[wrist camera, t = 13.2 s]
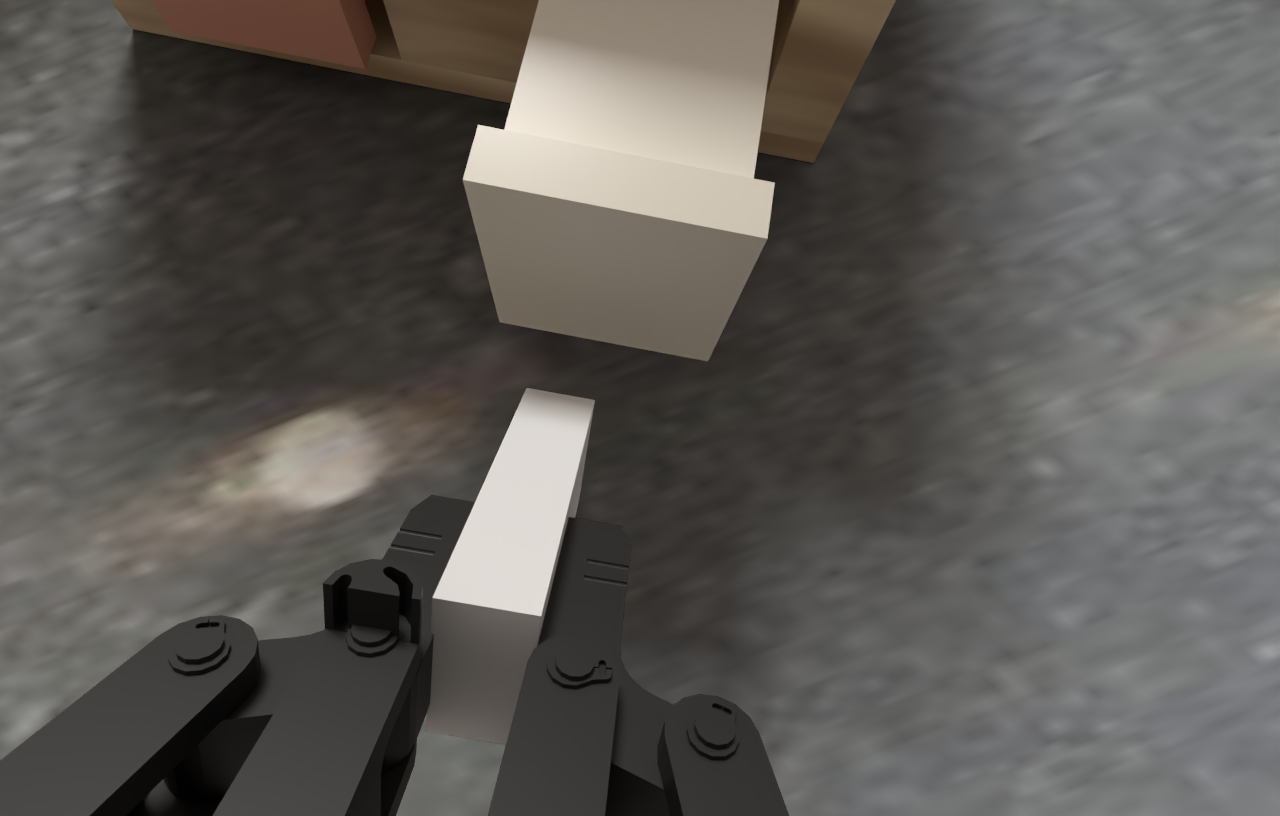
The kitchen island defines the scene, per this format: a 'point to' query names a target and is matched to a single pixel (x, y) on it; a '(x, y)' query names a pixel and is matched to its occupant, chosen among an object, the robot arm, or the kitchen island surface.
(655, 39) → the cream plug
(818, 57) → the wooden box
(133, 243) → the kitchen island surface
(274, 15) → the rust plug
